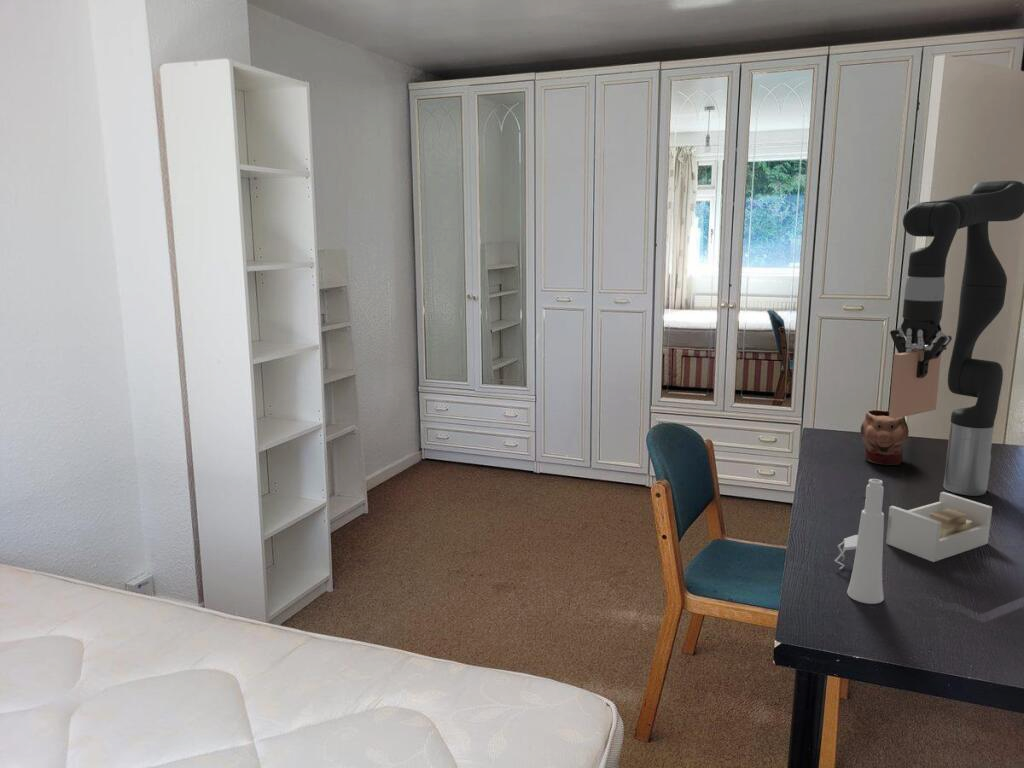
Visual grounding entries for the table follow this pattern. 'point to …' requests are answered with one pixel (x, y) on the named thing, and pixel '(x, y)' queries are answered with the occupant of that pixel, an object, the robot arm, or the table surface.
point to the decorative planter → (884, 437)
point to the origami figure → (847, 547)
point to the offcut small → (949, 518)
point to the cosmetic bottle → (869, 549)
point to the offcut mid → (956, 529)
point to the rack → (937, 528)
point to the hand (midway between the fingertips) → (915, 376)
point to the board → (913, 386)
